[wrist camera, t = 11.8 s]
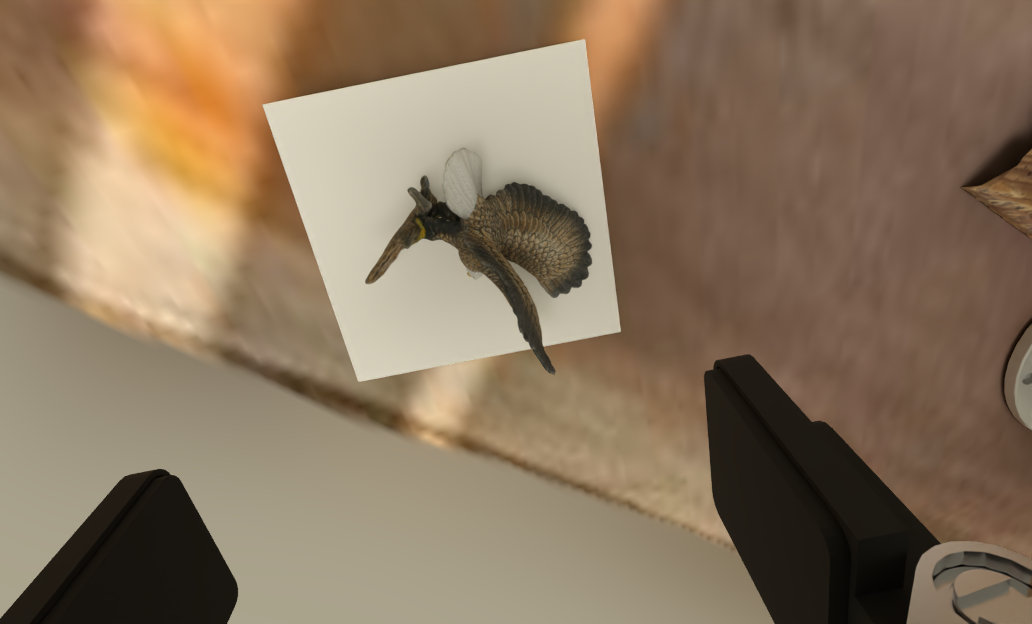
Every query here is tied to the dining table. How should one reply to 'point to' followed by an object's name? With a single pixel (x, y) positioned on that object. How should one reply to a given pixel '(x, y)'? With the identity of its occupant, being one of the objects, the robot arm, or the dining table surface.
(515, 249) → the eagle figurine
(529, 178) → the stand
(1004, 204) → the bird sculpture
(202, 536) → the robot arm
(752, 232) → the dining table surface
